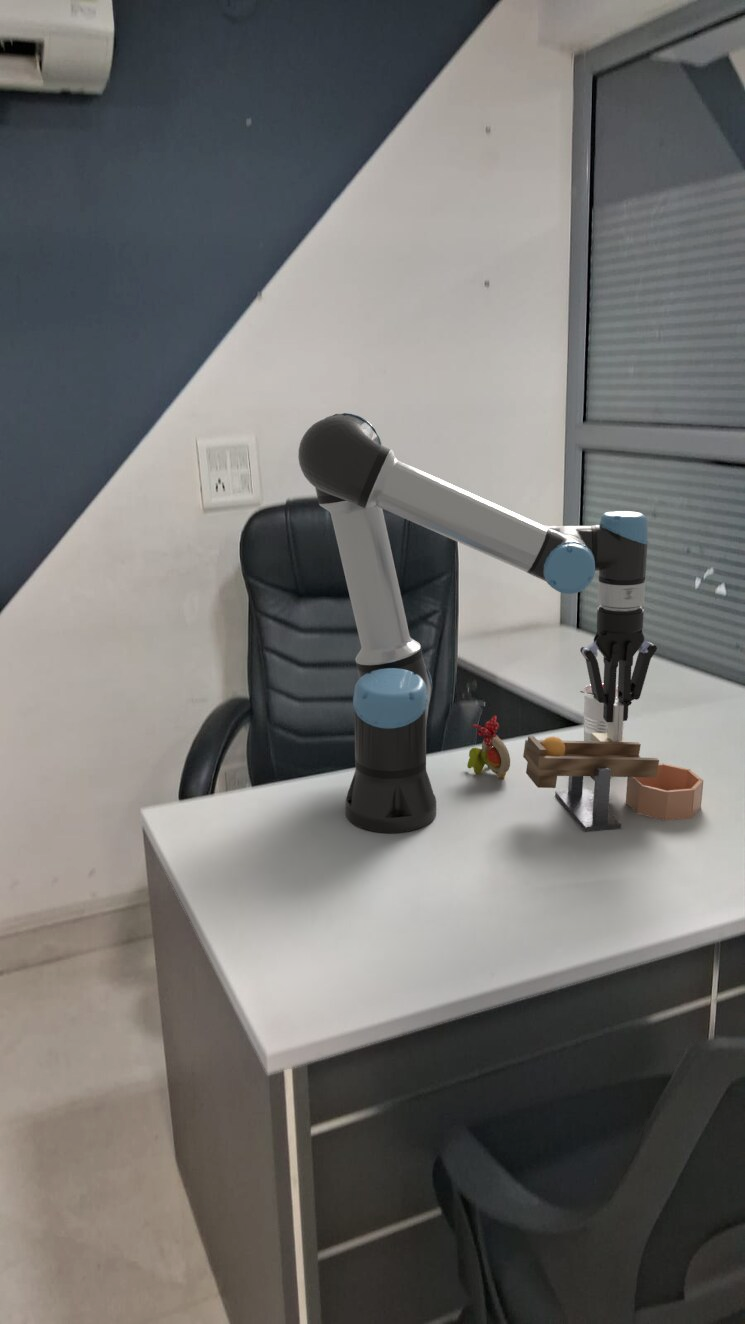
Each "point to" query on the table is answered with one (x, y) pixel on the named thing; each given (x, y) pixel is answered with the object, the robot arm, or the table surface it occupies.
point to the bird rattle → (490, 751)
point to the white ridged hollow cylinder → (594, 714)
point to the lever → (586, 760)
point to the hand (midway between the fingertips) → (614, 738)
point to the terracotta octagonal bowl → (666, 793)
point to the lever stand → (590, 802)
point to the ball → (553, 746)
